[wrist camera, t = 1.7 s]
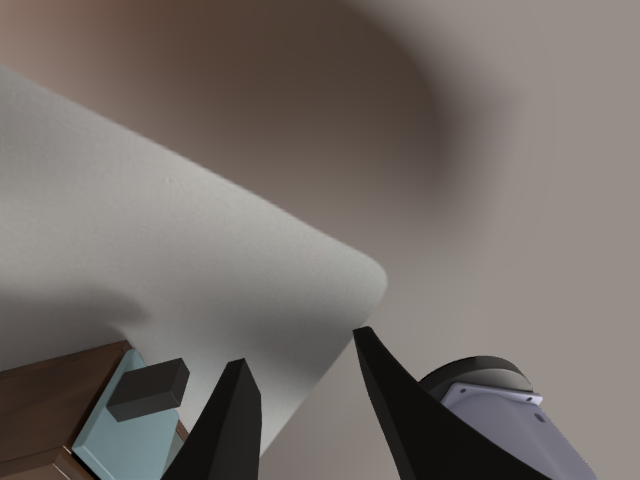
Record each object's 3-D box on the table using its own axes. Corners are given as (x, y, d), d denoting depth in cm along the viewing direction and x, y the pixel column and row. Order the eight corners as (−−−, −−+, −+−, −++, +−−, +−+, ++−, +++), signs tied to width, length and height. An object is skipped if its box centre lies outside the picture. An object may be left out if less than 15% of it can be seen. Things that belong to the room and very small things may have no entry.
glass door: (188, 334, 21) (155, 426, 15) (225, 403, 24) (210, 501, 18) (126, 350, 21) (70, 448, 15) (172, 417, 24) (139, 519, 18)
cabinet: (126, 339, 21) (52, 463, 14) (203, 455, 28) (177, 582, 20) (-18, 376, 21) (-167, 521, 14) (91, 484, 27) (27, 623, 20)
